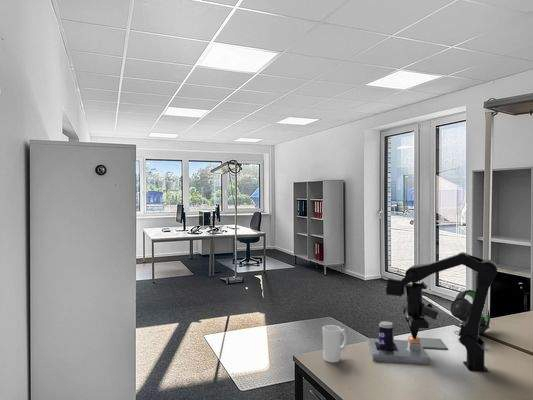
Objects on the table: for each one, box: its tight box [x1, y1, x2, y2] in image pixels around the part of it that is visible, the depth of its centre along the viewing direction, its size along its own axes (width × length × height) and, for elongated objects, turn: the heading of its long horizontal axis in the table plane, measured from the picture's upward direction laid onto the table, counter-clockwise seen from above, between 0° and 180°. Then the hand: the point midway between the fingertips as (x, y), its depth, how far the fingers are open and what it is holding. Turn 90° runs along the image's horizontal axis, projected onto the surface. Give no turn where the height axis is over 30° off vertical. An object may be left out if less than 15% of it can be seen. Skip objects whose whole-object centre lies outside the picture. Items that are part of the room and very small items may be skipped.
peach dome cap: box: [407, 335, 421, 344], centre depth 147 cm, size 4×4×3 cm
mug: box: [322, 324, 348, 364], centre depth 144 cm, size 10×7×12 cm, turn 109°
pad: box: [419, 337, 449, 351], centre depth 157 cm, size 10×10×1 cm
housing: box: [368, 337, 430, 365], centre depth 148 cm, size 16×20×5 cm
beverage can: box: [378, 320, 395, 351], centre depth 149 cm, size 6×6×12 cm
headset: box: [450, 289, 491, 342], centre depth 167 cm, size 18×14×29 cm
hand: (414, 338), depth 147 cm, fingers closed, pressing on peach dome cap
